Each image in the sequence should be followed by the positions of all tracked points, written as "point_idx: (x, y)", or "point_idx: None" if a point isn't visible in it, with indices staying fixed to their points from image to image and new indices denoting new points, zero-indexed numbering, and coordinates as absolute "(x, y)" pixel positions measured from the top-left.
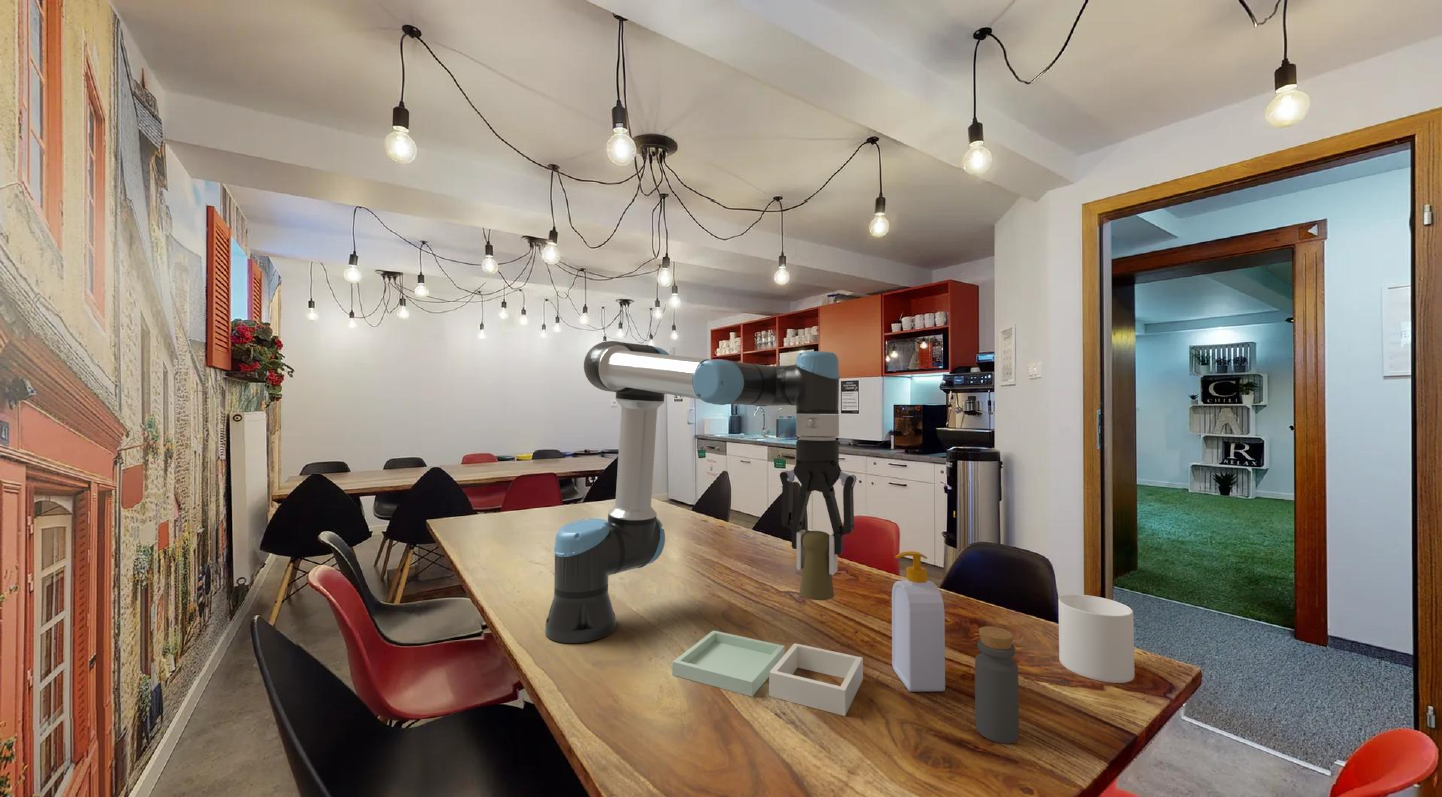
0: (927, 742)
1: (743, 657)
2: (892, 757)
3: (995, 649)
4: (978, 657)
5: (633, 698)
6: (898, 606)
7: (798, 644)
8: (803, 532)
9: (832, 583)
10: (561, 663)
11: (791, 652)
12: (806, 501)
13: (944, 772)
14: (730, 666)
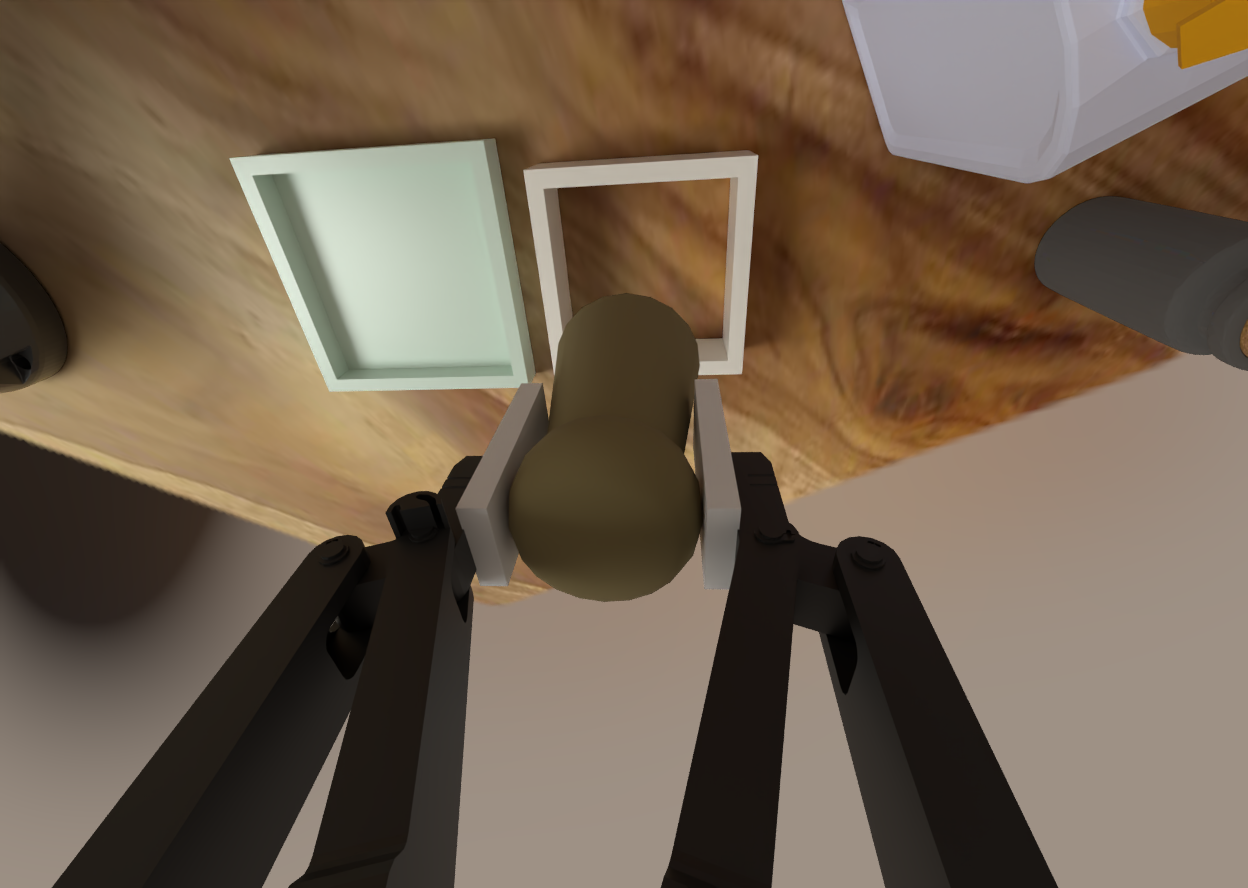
0: (905, 359)
1: (409, 227)
2: (835, 428)
3: None
4: (1182, 313)
5: (369, 473)
6: (976, 6)
7: (539, 174)
8: (498, 537)
9: (693, 373)
10: (154, 441)
11: (548, 245)
12: (440, 796)
13: (923, 427)
14: (419, 293)
